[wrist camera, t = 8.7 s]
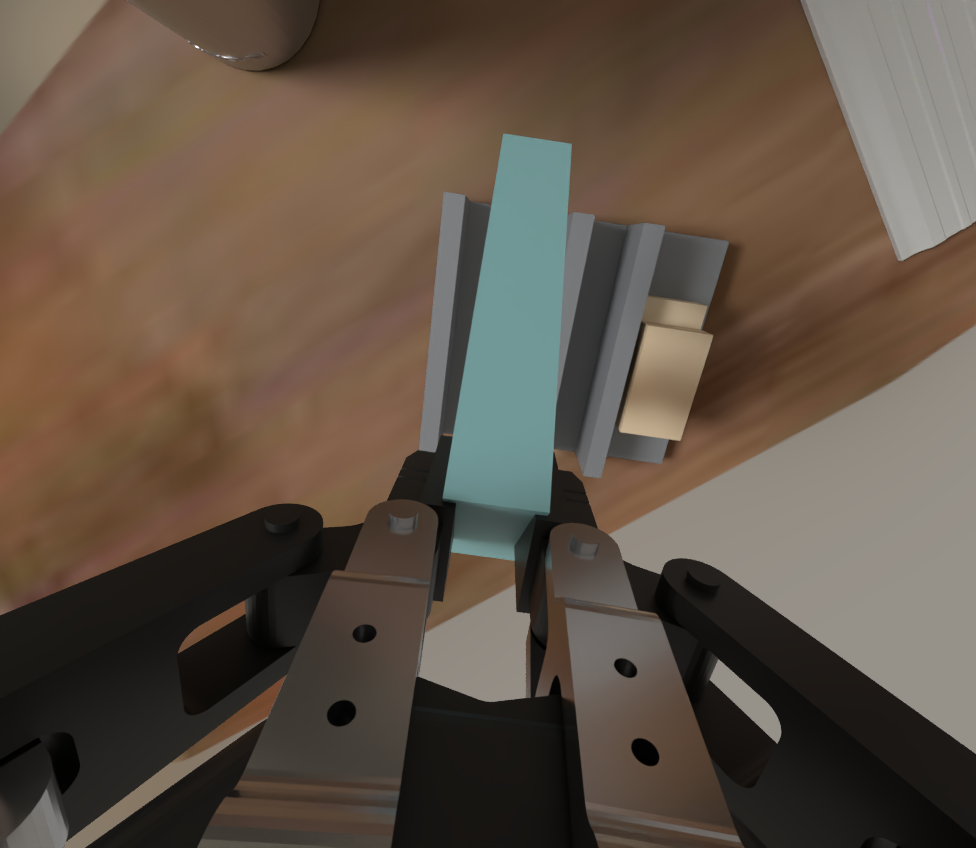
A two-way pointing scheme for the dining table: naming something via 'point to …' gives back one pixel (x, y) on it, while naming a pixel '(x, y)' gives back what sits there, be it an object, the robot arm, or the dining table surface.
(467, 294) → the rack
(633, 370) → the offcut top
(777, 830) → the robot arm
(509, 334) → the teal slat
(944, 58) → the baseboard molding
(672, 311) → the block
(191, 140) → the dining table surface
